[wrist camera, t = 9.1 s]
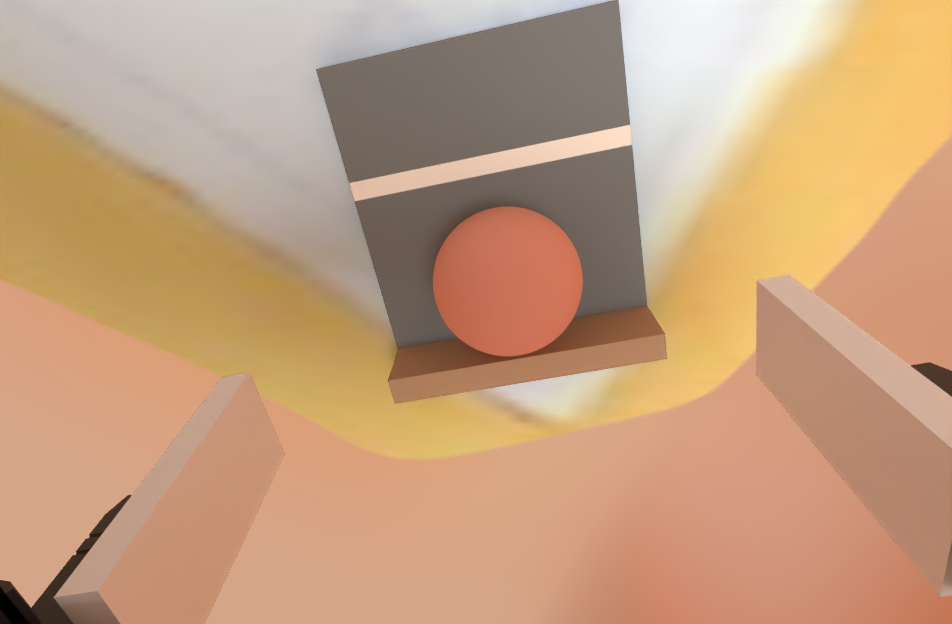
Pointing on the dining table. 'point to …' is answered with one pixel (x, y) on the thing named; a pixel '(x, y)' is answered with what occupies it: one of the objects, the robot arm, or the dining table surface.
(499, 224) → the ball
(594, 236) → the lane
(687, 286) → the dining table surface
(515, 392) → the dining table surface
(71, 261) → the dining table surface
